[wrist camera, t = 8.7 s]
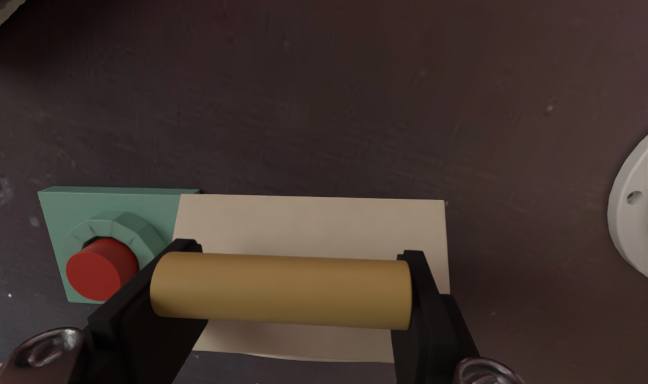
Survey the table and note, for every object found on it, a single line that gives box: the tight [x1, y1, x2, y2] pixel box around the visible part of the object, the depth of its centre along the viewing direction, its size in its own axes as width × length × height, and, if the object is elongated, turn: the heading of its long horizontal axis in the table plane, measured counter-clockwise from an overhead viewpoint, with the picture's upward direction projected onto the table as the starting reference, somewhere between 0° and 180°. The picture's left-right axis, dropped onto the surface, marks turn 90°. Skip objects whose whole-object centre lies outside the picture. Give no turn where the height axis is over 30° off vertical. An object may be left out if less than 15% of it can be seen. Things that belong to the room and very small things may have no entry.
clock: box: [150, 194, 450, 363], centre depth 16 cm, size 10×16×6 cm
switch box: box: [38, 186, 200, 304], centre depth 24 cm, size 11×9×3 cm
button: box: [66, 238, 139, 301], centre depth 22 cm, size 4×4×2 cm
